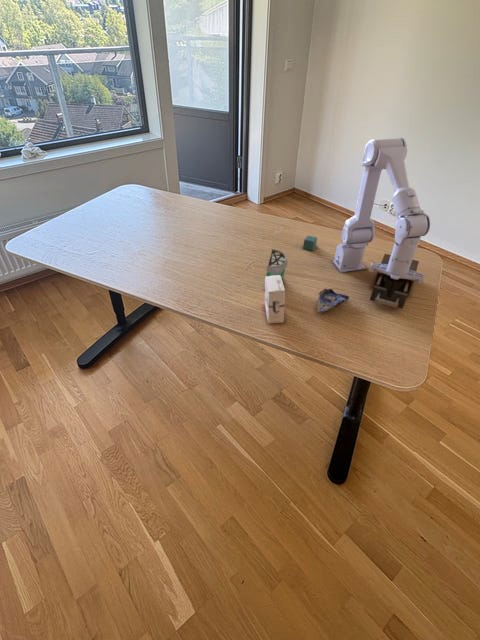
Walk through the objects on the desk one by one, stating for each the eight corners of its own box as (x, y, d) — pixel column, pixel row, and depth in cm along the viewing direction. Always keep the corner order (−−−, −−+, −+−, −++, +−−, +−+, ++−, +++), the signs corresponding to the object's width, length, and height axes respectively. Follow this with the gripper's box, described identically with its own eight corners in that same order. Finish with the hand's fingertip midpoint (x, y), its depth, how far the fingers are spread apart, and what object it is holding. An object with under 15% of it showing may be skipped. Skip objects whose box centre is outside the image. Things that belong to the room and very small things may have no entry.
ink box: (263, 306, 110) (264, 275, 102) (279, 305, 110) (281, 274, 103) (267, 324, 104) (269, 292, 96) (283, 323, 104) (286, 291, 96)
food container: (283, 294, 115) (286, 269, 108) (265, 292, 116) (266, 267, 109) (287, 274, 124) (289, 249, 117) (270, 272, 125) (271, 248, 118)
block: (312, 250, 136) (314, 241, 134) (303, 248, 138) (304, 239, 135) (315, 246, 139) (317, 237, 136) (306, 244, 140) (307, 235, 138)
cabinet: (407, 297, 113) (413, 280, 108) (372, 288, 117) (377, 271, 112) (412, 277, 121) (419, 261, 117) (380, 269, 125) (384, 253, 121)
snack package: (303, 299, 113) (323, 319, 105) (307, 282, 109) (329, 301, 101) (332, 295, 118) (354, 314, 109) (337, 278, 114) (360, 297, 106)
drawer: (400, 317, 104) (405, 304, 101) (366, 308, 107) (370, 295, 104) (408, 288, 115) (412, 275, 112) (377, 280, 119) (381, 268, 115)
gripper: (372, 257, 96) (361, 296, 105) (428, 270, 91) (412, 310, 100) (377, 246, 100) (366, 284, 109) (431, 257, 95) (415, 296, 104)
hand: (388, 295), depth 105 cm, fingers closed
